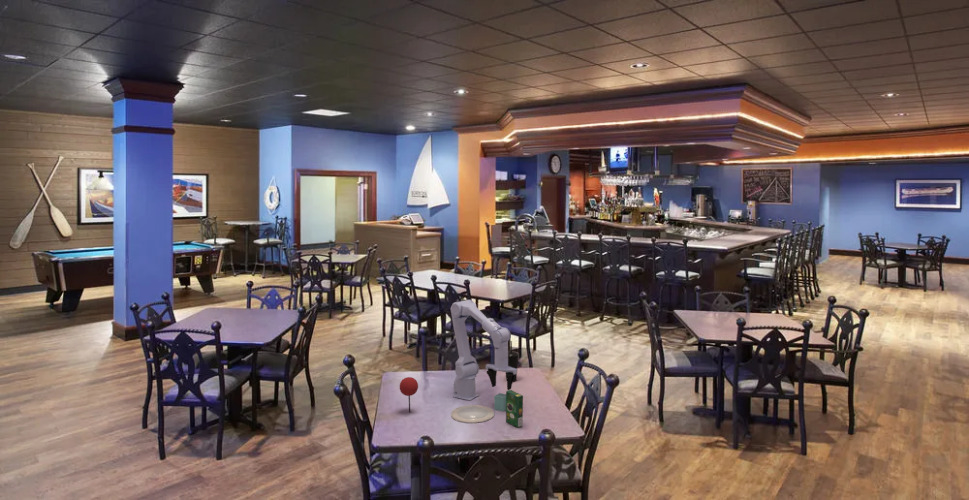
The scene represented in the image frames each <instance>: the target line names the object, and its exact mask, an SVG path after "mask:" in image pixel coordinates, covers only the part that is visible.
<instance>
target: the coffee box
mask: <svg viewBox="0 0 969 500" xmlns="http://www.w3.org/2000/svg"><path fill="white" fill-rule="evenodd" d="M505 392H506V393H505V394H506V410H505V422H506V423H507V424H510V425H512V426H513V427H515V428H517V429H519V428H522V427H523V421H524V420H523V416H524V415H523V413H524V411H523V410H524V409H523V408H524V395H522V394H520V393H519V392H517V391H514V390H512V389H510V390H506V391H505Z"/></svg>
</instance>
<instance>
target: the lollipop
mask: <svg viewBox="0 0 969 500" xmlns="http://www.w3.org/2000/svg"><path fill="white" fill-rule="evenodd" d="M418 389H419V383H418V380H416V378H415V377H413V376H412V377H411V376H408V377H404V378H402V380H401V381H400V382H399V390H400V392H401V394H402V395H404V396H408V413H411V396H414V395H415V394H416V393H417V392H418Z"/></svg>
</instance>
